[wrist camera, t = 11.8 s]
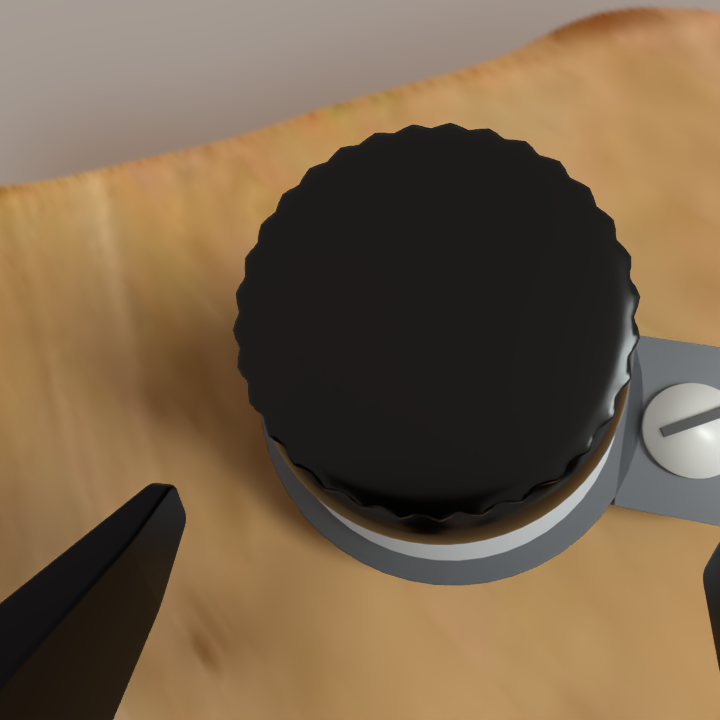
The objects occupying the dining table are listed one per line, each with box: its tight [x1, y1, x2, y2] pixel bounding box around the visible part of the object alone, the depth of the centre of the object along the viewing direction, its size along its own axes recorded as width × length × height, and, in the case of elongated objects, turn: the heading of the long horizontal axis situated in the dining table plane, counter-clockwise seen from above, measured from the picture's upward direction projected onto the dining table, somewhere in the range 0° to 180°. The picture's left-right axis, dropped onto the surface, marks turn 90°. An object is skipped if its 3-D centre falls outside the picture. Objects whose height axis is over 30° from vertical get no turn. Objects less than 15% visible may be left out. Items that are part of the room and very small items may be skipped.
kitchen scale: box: [261, 336, 720, 585], centre depth 20 cm, size 13×16×4 cm
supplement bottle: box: [233, 123, 640, 545], centre depth 12 cm, size 7×7×12 cm
